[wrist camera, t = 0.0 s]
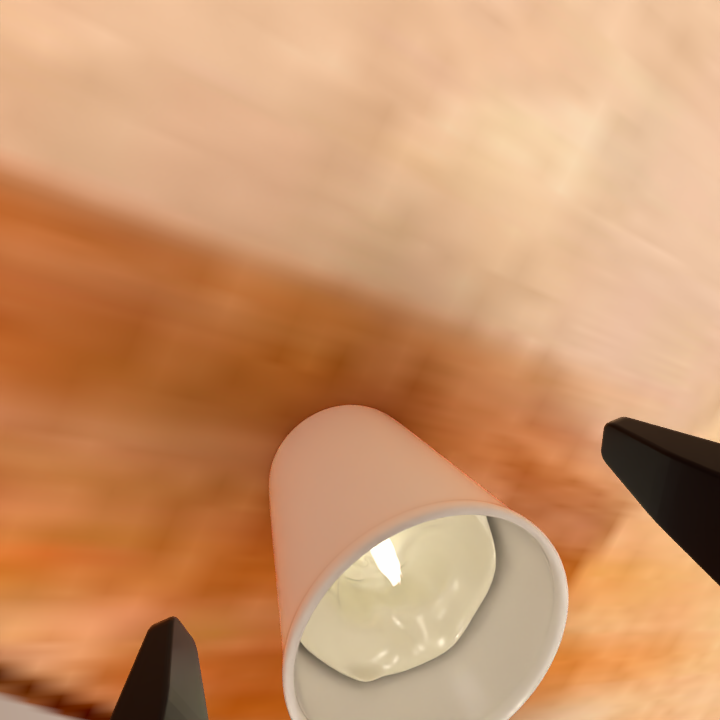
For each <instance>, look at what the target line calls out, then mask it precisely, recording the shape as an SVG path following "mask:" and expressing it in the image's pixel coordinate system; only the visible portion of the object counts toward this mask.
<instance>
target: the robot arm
mask: <svg viewBox="0 0 720 720" xmlns="http://www.w3.org/2000/svg"><path fill="white" fill-rule="evenodd" d="M601 453H602V457H603V459H604V461H605V462H606V464H607V465H608V466H609V467H610V468H611V470H612V471H613V472H614V473H615V474H616V476H617V477H618V478H619V479H620V480H621V482H622V483H623V484H624V485H625V486H626V488H627V489H628V490H629V491H630V492H631V494H632V495H633V496H634V497H635V498H636V499H637V501H638V502H639V503H640V504H641V505H642V507H643V508H644V509H645V510H646V511H647V513H648V514H649V515H650V516H651V517H652V518H653V519H654V520H655V522H656V523H657V524H658V525H659V526H660V527H661V528H662V529H663V530H664V531H665V532H666V533H667V534H668V535H669V536H670V537H671V538H672V539H673V540H674V541H675V542H676V543H677V544H678V545H679V546H680V547H681V548H682V549H683V550H684V551H685V552H686V553H687V554H688V555H689V556H690V557H691V558H692V559H693V560H694V561H695V562H696V563H697V564H698V565H699V566H700V567H701V568H702V569H703V570H704V571H705V572H706V573H707V574H708V575H709V576H710V577H711V578H712V579H713V580H714V581H715V582H716V583H717V584H718V585H719V586H720V443H717V442H713V441H710V440H706V439H703V438H699V437H695V436H692V435H688V434H685V433H681V432H678V431H674V430H671V429H667V428H664V427H660V426H656V425H653V424H649V423H646V422H642V421H639V420H635V419H632V418H628V417H620V418H618V419H615V420H613V421H611V422H609V423H607V424H606V425H605V427H604V431H603V439H602V447H601ZM110 720H208V714H207V708H206V702H205V696H204V689H203V683H202V677H201V671H200V665H199V658H198V652H197V648H196V645H195V642H194V640H193V638H192V637H191V635H190V634H189V633H188V631H187V630H186V629H185V627H184V626H183V625H182V623H181V622H180V621H179V619H178V618H177V617H174V616H172V617H169V618H167V619H165V620H162V621H160V622H158V623H156V624H154V625H152V626H151V627H150V628H149V630H148V632H147V634H146V636H145V638H144V641H143V643H142V645H141V648H140V650H139V653H138V655H137V657H136V660H135V662H134V664H133V667H132V669H131V671H130V674H129V676H128V678H127V681H126V683H125V685H124V688H123V690H122V692H121V695H120V697H119V699H118V702H117V704H116V706H115V709H114V711H113V713H112V716H111V718H110Z"/></svg>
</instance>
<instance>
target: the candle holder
mask: <svg viewBox="0 0 720 720" xmlns="http://www.w3.org/2000/svg"><path fill="white" fill-rule="evenodd" d="M269 503H270V516H271V528H272V539H273V551H274V562H275V573H276V584H277V596H278V607H279V618H280V629H281V641H282V653H283V665H282V682H283V692H284V697H285V702H286V706H287V709H288V712H289V715H290V718H291V720H508V719H509V718H510V717H512V716H513V715H514V714H515V713H516V712H517V711H518V709H519V708H520V707H521V706H522V705H523V704H524V703H525V702H526V701H527V699H528V698H529V697H530V696H531V694H532V693H533V692H534V691H535V689H536V688H537V686H538V685H539V684H540V682H541V681H542V679H543V677H544V676H545V674H546V672H547V671H548V669H549V667H550V665H551V663H552V661H553V659H554V657H555V655H556V653H557V650H558V648H559V645H560V642H561V639H562V636H563V633H564V629H565V625H566V620H567V613H568V585H567V578H566V574H565V570H564V567H563V564H562V561H561V559H560V557H559V555H558V553H557V551H556V549H555V547H554V546H553V544H552V543H551V541H550V540H549V539H548V538H547V536H546V535H545V534H544V533H543V532H542V531H541V530H540V529H539V528H538V527H537V526H536V525H535V524H533V523H532V522H531V521H529V520H528V519H527V518H525V517H524V516H522V515H520V514H519V513H517V512H515V511H513V510H512V509H510V508H509V507H508V506H506V505H505V504H504V503H503V502H501V501H500V500H499V499H497V498H496V497H495V496H494V495H492V494H491V493H490V492H488V491H487V490H486V489H485V488H483V487H482V486H481V485H479V484H478V483H477V482H476V481H474V480H473V479H472V478H470V477H469V476H468V475H467V474H465V473H464V472H463V471H461V470H460V469H459V468H458V467H456V466H455V465H454V464H452V463H451V462H450V461H449V460H447V459H446V458H445V457H443V456H442V455H441V454H440V453H438V452H437V451H436V450H434V449H433V448H432V447H431V446H429V445H428V444H427V443H425V442H424V441H423V440H422V439H420V438H419V437H418V436H416V435H415V434H414V433H413V432H411V431H410V430H409V429H407V428H406V427H405V426H403V425H402V424H401V423H399V422H398V421H397V420H395V419H394V418H392V417H391V416H389V415H387V414H386V413H384V412H382V411H379V410H377V409H374V408H371V407H367V406H362V405H341V406H335V407H331V408H328V409H325V410H322V411H319V412H317V413H315V414H313V415H311V416H310V417H308V418H306V419H305V420H304V421H302V422H301V423H300V424H298V425H297V426H296V427H295V428H294V429H293V430H292V431H291V432H290V433H289V434H288V435H287V437H286V438H285V439H284V441H283V442H282V444H281V445H280V447H279V449H278V450H277V452H276V455H275V457H274V460H273V462H272V466H271V470H270V476H269Z"/></svg>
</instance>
